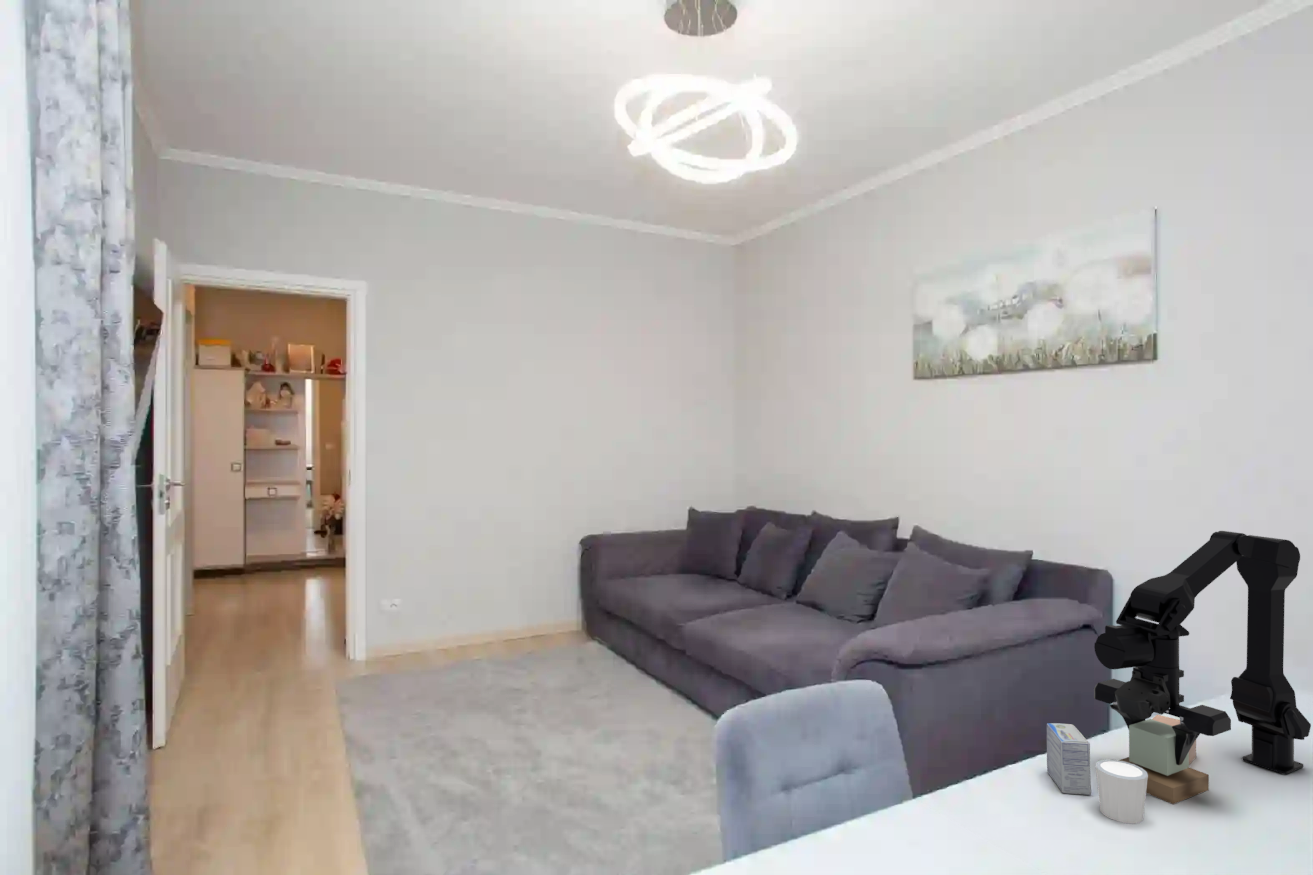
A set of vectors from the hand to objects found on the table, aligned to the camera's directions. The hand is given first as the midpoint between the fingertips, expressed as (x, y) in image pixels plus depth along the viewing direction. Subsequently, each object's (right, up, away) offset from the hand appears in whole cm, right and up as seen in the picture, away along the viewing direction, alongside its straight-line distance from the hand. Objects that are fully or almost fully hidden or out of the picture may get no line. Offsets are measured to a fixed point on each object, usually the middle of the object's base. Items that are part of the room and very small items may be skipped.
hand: (1158, 756), depth 124 cm
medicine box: (-15, -5, 0) cm, 16 cm away
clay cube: (+9, -4, +10) cm, 15 cm away
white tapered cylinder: (-12, -5, -9) cm, 16 cm away
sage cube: (0, -1, 0) cm, 1 cm away
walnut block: (0, -5, 0) cm, 5 cm away
